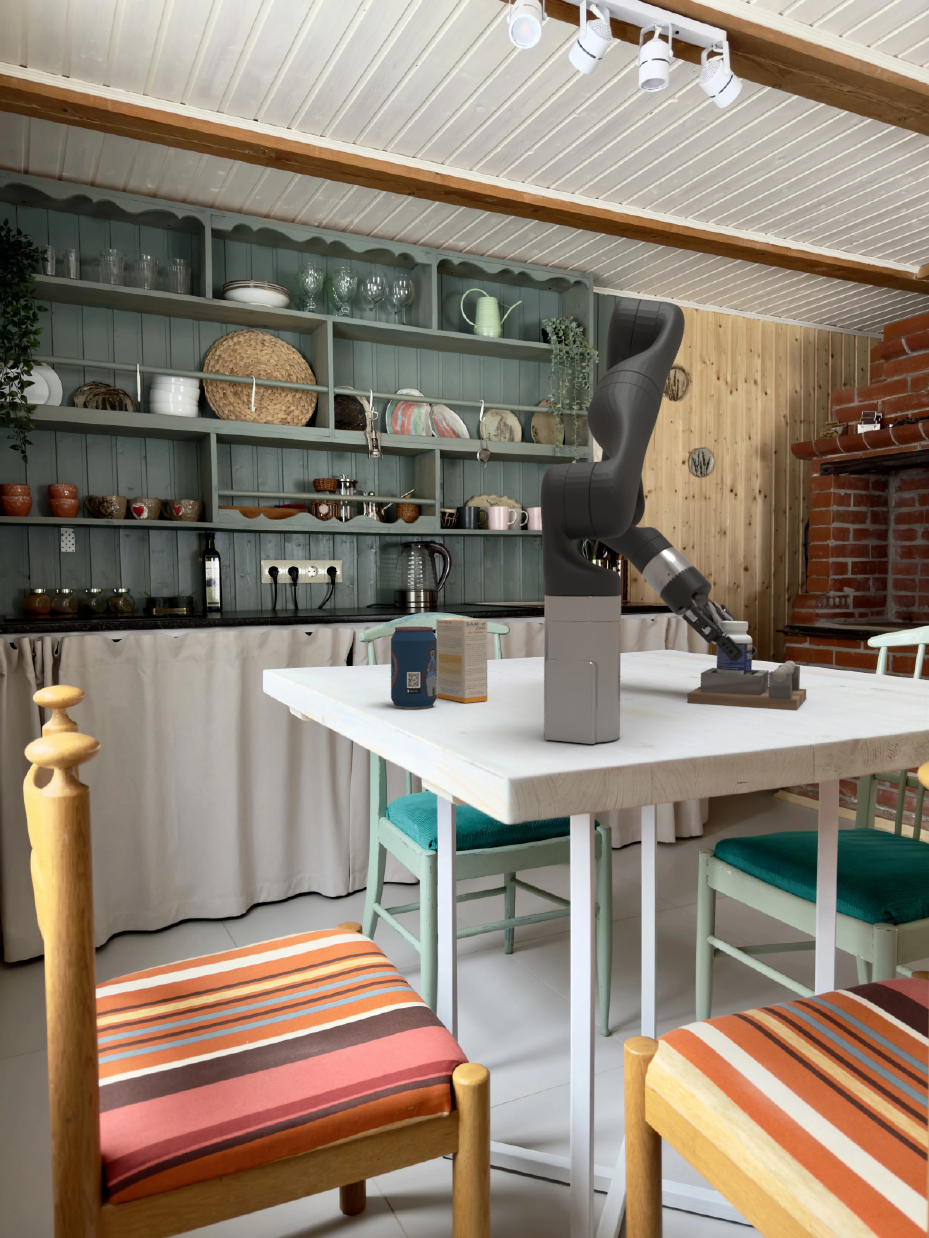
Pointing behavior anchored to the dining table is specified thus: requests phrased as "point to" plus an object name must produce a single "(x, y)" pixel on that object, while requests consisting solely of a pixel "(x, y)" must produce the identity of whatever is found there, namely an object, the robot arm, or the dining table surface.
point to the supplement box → (462, 659)
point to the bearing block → (752, 688)
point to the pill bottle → (743, 641)
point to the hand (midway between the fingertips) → (745, 656)
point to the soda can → (413, 667)
